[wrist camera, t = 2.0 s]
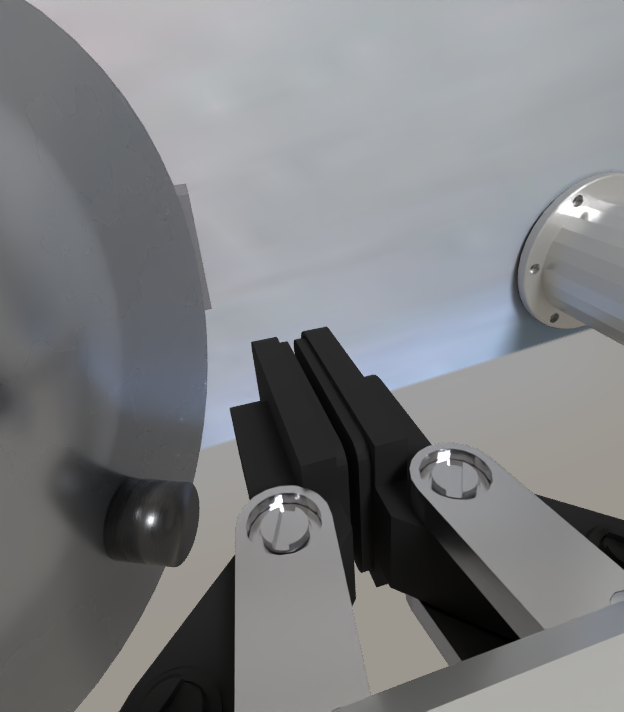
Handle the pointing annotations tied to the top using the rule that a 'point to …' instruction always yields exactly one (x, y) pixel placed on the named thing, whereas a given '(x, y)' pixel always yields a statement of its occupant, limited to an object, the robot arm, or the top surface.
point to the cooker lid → (87, 368)
